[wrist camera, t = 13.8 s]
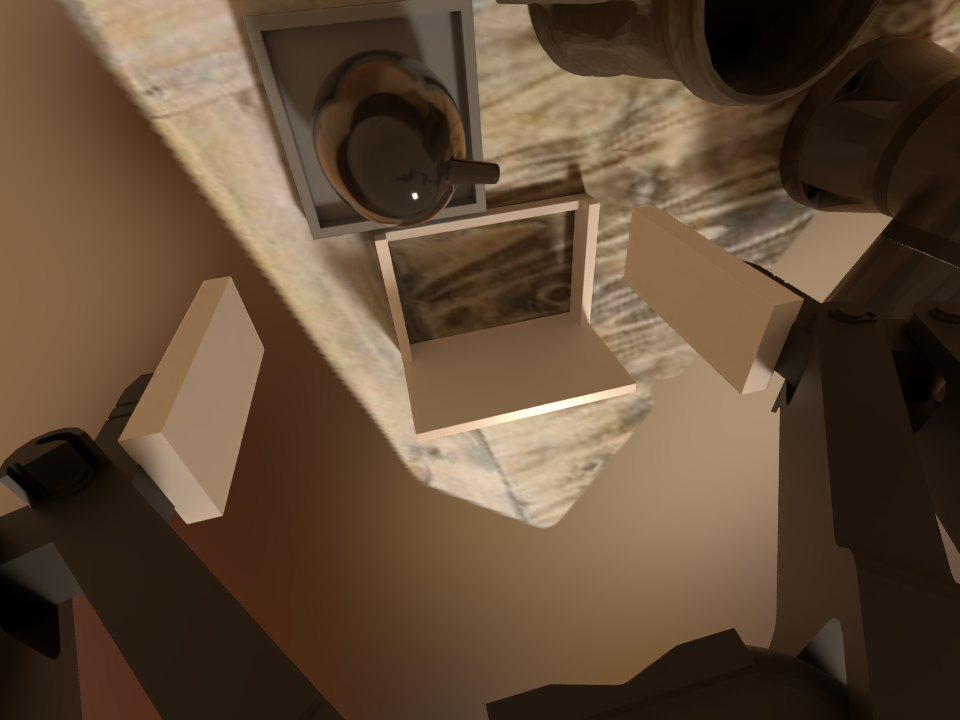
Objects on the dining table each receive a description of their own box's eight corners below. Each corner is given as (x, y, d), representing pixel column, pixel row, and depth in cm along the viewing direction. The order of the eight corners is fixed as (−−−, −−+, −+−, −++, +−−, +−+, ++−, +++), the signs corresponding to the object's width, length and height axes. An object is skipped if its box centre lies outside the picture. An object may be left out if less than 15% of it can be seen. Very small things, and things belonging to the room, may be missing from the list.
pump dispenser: (453, 190, 39) (502, 268, 27) (327, 197, 37) (321, 284, 25) (452, 46, 33) (513, 66, 21) (300, 44, 31) (275, 64, 19)
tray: (464, -5, 32) (471, -6, 30) (480, 202, 41) (486, 211, 39) (247, 16, 30) (241, 16, 28) (314, 229, 39) (313, 239, 37)
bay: (585, 192, 43) (661, 248, 33) (577, 317, 52) (634, 391, 42) (372, 228, 40) (383, 300, 30) (401, 353, 49) (418, 442, 39)
